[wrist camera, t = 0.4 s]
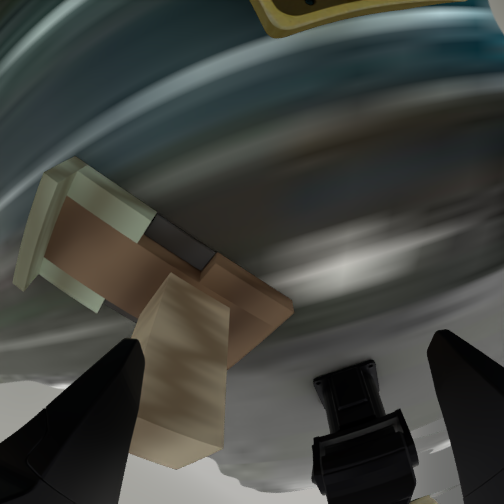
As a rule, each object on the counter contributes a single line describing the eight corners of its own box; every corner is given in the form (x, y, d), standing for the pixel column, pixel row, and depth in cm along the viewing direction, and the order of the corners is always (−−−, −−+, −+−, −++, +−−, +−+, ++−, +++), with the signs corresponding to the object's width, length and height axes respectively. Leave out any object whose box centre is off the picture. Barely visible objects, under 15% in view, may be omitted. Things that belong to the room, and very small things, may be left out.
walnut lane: (291, 300, 24) (298, 336, 20) (218, 365, 28) (216, 400, 24) (75, 156, 18) (43, 172, 14) (36, 256, 22) (12, 283, 18)
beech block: (229, 308, 22) (223, 448, 13) (193, 344, 24) (176, 469, 15) (170, 272, 21) (127, 411, 11) (140, 314, 23) (98, 439, 13)
